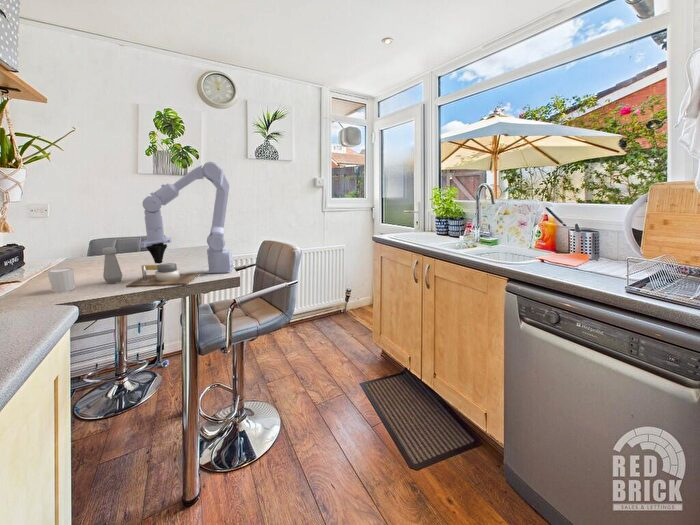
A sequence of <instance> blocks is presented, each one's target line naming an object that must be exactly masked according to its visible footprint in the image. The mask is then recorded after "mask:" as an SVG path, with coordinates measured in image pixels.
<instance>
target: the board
mask: <svg viewBox="0 0 700 525" xmlns="http://www.w3.org/2000/svg"><path fill="white" fill-rule="evenodd" d="M199 274H200V272H197V273H196V272H194V273H193V272H192V273H191V272H190V273H187V272H186V273H180V278H179V279H177V280H172V281H156V275H155V274H146V276H147V280H150V282H147V283H141V281H142V280H143V276H141V277H139V278H138V279H136V280H134V281H132V282H129V283H128V284H126V285H125V287H126V288H138V287H139V288H140V287H160V286H161V287H163V286H164V287H166V285H170V286H187V285H189V284H190V283H191V282H192V281H194V280H195V279H196V278H197V277H199V276H200V275H201V274H200V275H199ZM198 275H199V276H198ZM195 277H196V278H195ZM194 278H195V279H194ZM189 282H190V283H189Z"/></svg>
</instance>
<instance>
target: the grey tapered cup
mask: <svg viewBox="0 0 700 525" xmlns="http://www.w3.org/2000/svg"><path fill="white" fill-rule="evenodd" d="M46 273H47V276H48V279H49V283H50V286H51V289H52V292H53V293H55V292H60V293H66V292H65V291H68V292H71V291H70V290H72V291H74V290H75V288H76V286H75V285H76V284H75V269H74V268H70V267H69V268H68V267H66V268H57V269H56V268H55V269H51V270H48V271H47V272H46ZM73 289H74V290H73Z"/></svg>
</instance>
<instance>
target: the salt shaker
mask: <svg viewBox="0 0 700 525" xmlns="http://www.w3.org/2000/svg"><path fill="white" fill-rule="evenodd" d="M117 251H118V250H117V248H116V247H114V246H109V247H104V248H102V249H101V252H102V255H104V260H103V262H104V263H103V264H104V265H103V275H102V277H103V279H104V281H105V282H106V284H109V283H112V284H117V283H116V282H118V283H121V282H122V278H123V272H122V270H121V267H120V264H119V261H118V259H117V256H116V254H117ZM120 281H121V282H120Z"/></svg>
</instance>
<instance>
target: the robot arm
mask: <svg viewBox="0 0 700 525" xmlns="http://www.w3.org/2000/svg"><path fill="white" fill-rule="evenodd" d="M203 179H206V180H208V181H210V182H211V183H212V185H213V186H214V187H215V188H216V191H215V199H214V205H213V206H214V207H213V213H212V214H213V215H212V222H211V227H210V233H209V234H208V236H207V238H206V243H207V245H208V247H209V248H207V250H206V253H207V262H208V263H207V264H208V270H206V272H205V274H220V273H221V274H222V273H223V274H224V273H225V274H226V273H230V272H232V270H233V269H234V264H233V262H234V261H233V252H232V250H228V249H226V248H225V245H226V242H225V239H224V234H225V232H224V231H225V228H224V227H225V222H226V213H227V206H228V199H229V191H230V182H228V179H227V177H226V175H225V173H224V170H223V169H222V167H221V166H219V164H217V163H216V162H214V161H207V162H205V163H204V164H203V165H199V166H198V167H195V168H193V169H192V170H190V171H189V172H188V173H186V174H185V175H184V176H182V177H181V178H179V179H178V180H177V181H175V182H174V183H166V184H164V183H162V184H161V187H160V188H159V189H157V190H156V191H154V192H153V191H152V192H151V193H150V195H147V196H146V197H145V198H144V199H143V200H142V202H141V203H142V207H143V209H144V212H143V213H144V223H145V231H146V238H147V239H145V240H143V241H139V243H138V244H139V248H144V249H145V248H146V250H147V251H148V252H149V253H150V255H151V257H152V259H153V262H154V264H157V265H159V264H163V259H164V255H165V251H166V249H167V247H168V244H169V243H172V237H165V234H164V233H165V232H164V223H163V217H162V212H161V211H162V210H161V209H162V206H166V205H167V204H169V203H171V202H172V201H173V200H175V199H176V198H177V197H179V194H180V192H179V191H181V190H182V189H184V188H186V187H187V186H189V185H190V184H191V183H193V182H194V181H196V180H203ZM167 243H168V244H167Z"/></svg>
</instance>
